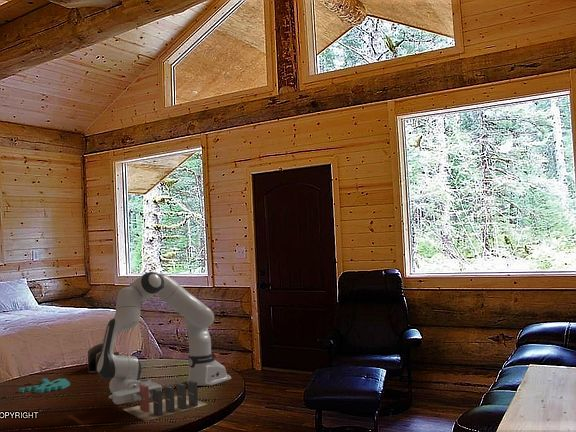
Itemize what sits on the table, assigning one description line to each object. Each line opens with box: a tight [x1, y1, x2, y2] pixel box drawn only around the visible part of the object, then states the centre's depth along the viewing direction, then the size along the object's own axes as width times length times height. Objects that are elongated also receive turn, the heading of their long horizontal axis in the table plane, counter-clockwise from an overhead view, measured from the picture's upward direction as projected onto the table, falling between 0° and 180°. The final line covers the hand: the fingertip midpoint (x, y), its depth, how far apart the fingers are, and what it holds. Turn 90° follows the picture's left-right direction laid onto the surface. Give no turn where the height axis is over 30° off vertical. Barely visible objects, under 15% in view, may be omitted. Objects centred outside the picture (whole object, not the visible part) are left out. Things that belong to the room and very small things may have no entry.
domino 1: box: [152, 388, 163, 416], centre depth 225 cm, size 2×5×10 cm, turn 39°
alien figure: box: [18, 378, 71, 394], centre depth 283 cm, size 20×2×20 cm
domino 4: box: [187, 380, 199, 407], centre depth 236 cm, size 2×5×10 cm, turn 39°
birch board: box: [122, 395, 208, 422], centre depth 235 cm, size 29×22×1 cm
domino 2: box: [164, 385, 175, 413], centre depth 229 cm, size 2×5×10 cm, turn 40°
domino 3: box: [176, 382, 187, 410], centre depth 232 cm, size 2×5×10 cm, turn 39°
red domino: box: [139, 385, 150, 413], centre depth 222 cm, size 2×5×10 cm, turn 39°
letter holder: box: [87, 343, 120, 374], centre depth 319 cm, size 10×20×14 cm, turn 172°
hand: (145, 397), depth 221 cm, fingers closed on red domino, 2 cm apart
